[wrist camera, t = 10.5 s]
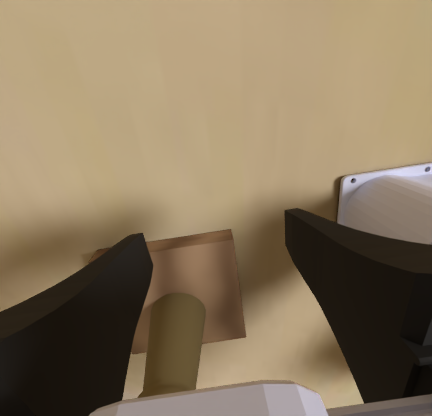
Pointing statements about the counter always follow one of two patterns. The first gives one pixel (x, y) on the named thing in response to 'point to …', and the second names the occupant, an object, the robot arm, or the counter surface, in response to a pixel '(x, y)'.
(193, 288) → the walnut stand
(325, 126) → the counter surface
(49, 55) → the counter surface
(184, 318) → the olive bottle
